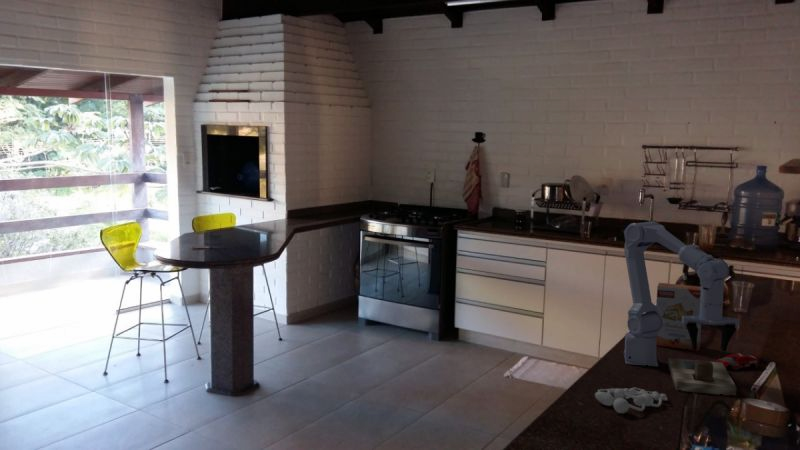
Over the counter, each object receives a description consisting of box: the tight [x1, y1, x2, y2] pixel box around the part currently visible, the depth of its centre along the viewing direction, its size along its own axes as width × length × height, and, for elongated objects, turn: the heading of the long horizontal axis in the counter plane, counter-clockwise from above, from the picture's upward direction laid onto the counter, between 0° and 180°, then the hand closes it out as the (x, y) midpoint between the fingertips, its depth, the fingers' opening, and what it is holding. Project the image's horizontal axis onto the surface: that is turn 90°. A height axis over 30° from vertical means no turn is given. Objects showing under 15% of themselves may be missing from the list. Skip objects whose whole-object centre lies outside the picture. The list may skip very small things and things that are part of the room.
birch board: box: [667, 357, 738, 397], centre depth 184 cm, size 15×20×3 cm
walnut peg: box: [694, 359, 713, 382], centre depth 179 cm, size 4×4×7 cm
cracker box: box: [655, 282, 702, 352], centre depth 213 cm, size 14×6×21 cm, turn 62°
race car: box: [715, 352, 760, 371], centre depth 194 cm, size 13×5×4 cm, turn 98°
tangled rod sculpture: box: [594, 386, 668, 414], centre depth 169 cm, size 19×14×4 cm
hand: (708, 349), depth 179 cm, fingers open, 7 cm apart
